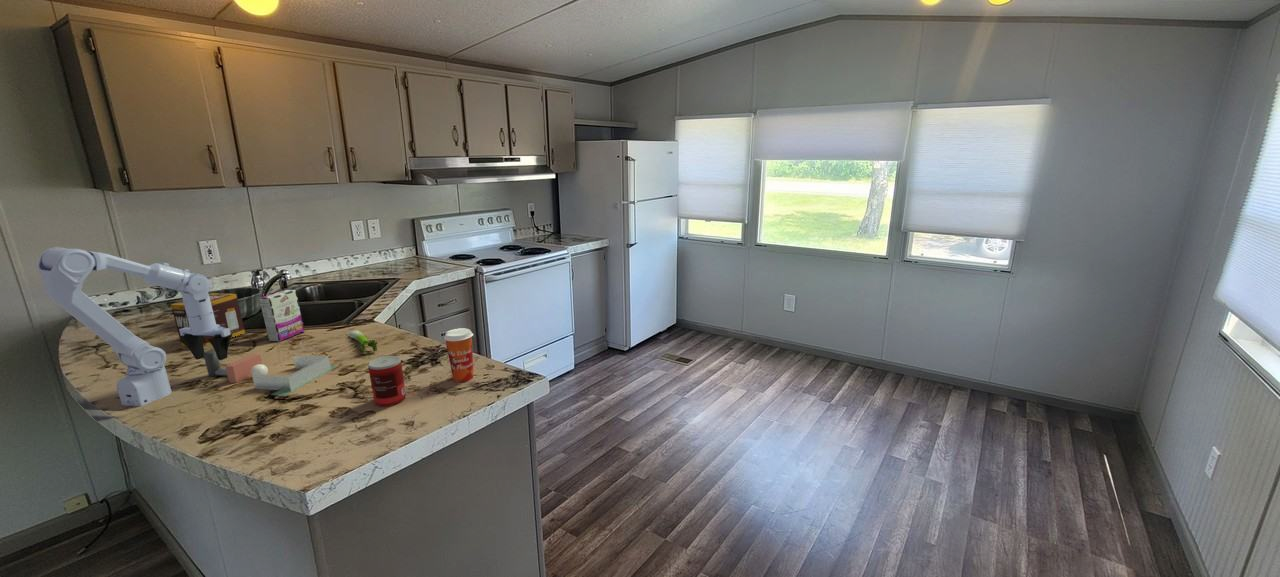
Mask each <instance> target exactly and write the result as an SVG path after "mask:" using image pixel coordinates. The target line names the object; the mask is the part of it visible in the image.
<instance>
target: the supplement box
mask: <svg viewBox="0 0 1280 577" xmlns="http://www.w3.org/2000/svg"><path fill="white" fill-rule="evenodd" d="M209 297H210V301H211V305H212V309H213V313H214V317H215V321H216V324H218V325H219V326H220V327H223V328H229V329H230V334H232V337H234V338H236V337H239V336H241V335H240V334H242V335H244V334H246V330H245V328H244V323H243V318H241V313H240V309H239V304H238V300H237V295H236V294H222V293H211V294H209ZM181 301H182V300H181ZM181 301H179V302H178V301H177V302H175V303H171V304H170V307H171V311H172V314H173V315H172V316H173V318H174V322H175V326H176V329H177V333H178V337H179V340H180V339H181V338H184V336H181V335H180V331H179V329H182V328H185V327H190V325H189V321H188V317H187V313H186V310H185V306H184V302H183V301H182V302H181ZM238 335H239V336H238ZM235 336H236V337H235ZM213 337H215V336H207V335H204V338H203V347H206V346H207V347H209V346H210V347H211V343H210V342H209V341H208V339H210V338H213ZM180 345H181V347H186V348H188V347H187V346H186V345H185V344H183V343H182V342H181V341H180Z"/></svg>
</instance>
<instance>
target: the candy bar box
mask: <svg viewBox="0 0 1280 577" xmlns="http://www.w3.org/2000/svg"><path fill="white" fill-rule="evenodd" d="M259 301H260V305H261V309H260V310H261V312H262V313H261V314H262V316H263V320H264V324H265V329H266V333H267V338H268V341H269V342H271V341H277V342H278V343H279V342H280V341H281V342H283V341H286V340H288V339H290V337H291V338H293V337H295V336H294V335H296V336H298V335H300V334H302V333H301V332H303V333H305V332H304V331H306V330H305V326H304V321H303V317H302V312H301V308H300V304H299V303H300V302H299V299H298V293H297V290H295V289H284V290H281V291H277V292H274V293H271V294H267V295H264V296H262V297H261V298H259ZM299 333H300V334H299ZM297 334H298V335H297ZM292 336H293V337H292ZM285 339H286V340H285ZM281 342H280V343H281Z"/></svg>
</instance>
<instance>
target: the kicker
mask: <svg viewBox="0 0 1280 577" xmlns="http://www.w3.org/2000/svg"><path fill="white" fill-rule="evenodd" d="M204 352H205V351H204ZM203 355H204V357H203V358H204V362H205V367H206V370H207V374H208V377H209V378H214V377H219V376H224V377H225V376H227V379H228V382H229V383H232V384H233V383H234V384H237V383H239V382H241V381H244V380H245V379H248V378H250V377H252V375H251V369H252V368H253V367H254V366H255V365H258V364H262V365H263V361H262V357H261V354H258V353H255V354H253V353H252V354H250V355H248V356H245V357H244V358H241V359H238V360H236V361H234V362H232V363H229V364H227V365H225V368H221V364H220V360H219V359H218V358H217V355H216V352H215V350H208V351H206V352H205V353H204V354H203Z"/></svg>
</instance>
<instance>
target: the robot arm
mask: <svg viewBox="0 0 1280 577" xmlns="http://www.w3.org/2000/svg"><path fill="white" fill-rule="evenodd" d="M36 268H37V270H38V271H39V273H40V275H41V281H42V284H43V288H44V293H45V296H46V297H48V298H49V299H50V300H52V301H53V302H54V303H55V304H57V305H58V306H59V307H60V308H61V309H62V310H64V311H65V312H67V313H68V314H69V315H71V316H72V317H73V318H75V319H76V320H77V321H78V322H80V323H81V324H82V325H83V326H85V327H86V328H87V329H89V330H90V331H91V332H93V333H94V334H95V336H98V337H99V338H100V339H101V340H102V341H103V342H105V343H106V344H108V345H109V346H110V347H111V351H112V352H114V353H115V354H116V355H117V357H118V360H119V362H120V363H121V364H122V365H123V366H125V367H127V368H126V373H127V374H126V375H125V376H124V377H123V378H120V379H119V380H117V382H116V390H117V393H118V396H119V399H120V402H121V403H120V404H121V406H133V407H137V406H138V407H143V406H144V405H147V404H149V403H152V402H154V401H157V400H160V399H162V398H165V397H168V396H169V395H170V394H172V393H173V392H172V389H171V385H170V381H169V377H168V374H167V370H166V367H165V364H166V361H167V354H166V352H165V350H163V348H161V347H158V346H153V345H151V344H150V343H149V342H147V341H146V340H144V339H142V338H140V337H138V336H136V335H135V334H134V333H133V332H131V331H130V330H129V329H128V328H126V326H124V325H123V324H122V322H119V321H118V320H117V319H116V318H115V317H113V316H112V315H111V314H109V312H107V311H106V310H105V309H104V308H102V306H100V305H99V304H98V303H97V302H95V301H94V300H93V299H92V298H90V297H89V296H88V295H87V294H86V293H84V292H83V290H82V288H83V285H84V281H85V279H86V278H87V277H88V276H89V274H91V272H92V271H95V272H97V271H98V272H99V271H103V270H110V271H115V272H119V273H124V274H128V275H133V276H136V277H137V276H138V277H142V279H143V280H144V282H145V283H146V284H148V285H153V286H157V287H161V288H165V289H168V290H170V289H171V290H173V291H177V292H179V293H181V294H180V295H181V298H182V300H183V302H184V306H185V310H186V313H187V317H188V321H189V325H190V327H185V328H182V329H179V331H180V335H181V336H184V338H181V339H180V338H179V341H180V343H181V342H182V343H183V344H185V345H186V346H187V347H186V348H187V349H188V350H189V351H190V352H191V354H192V355H193V358H195V360H197V361H198V360H201V359H203V358H204V355H203V354H204V353H205V348H204V347H205V346H204V347H203V338H204V335H207V336H215V337H213V338H210V339H208V341H209V342H210V343H211V345H212V347H213V351H215V352H216V355H217V358H218V359H219V361H223V360H225V359H228V355H229V352H228V351H229V345H230V342H231V339H233V338H232V334H230V329H229V328H223V327H220V326H219V325H218V324H216V321H215V317H214V313H213V309H212V305H211V301H210V297H209V294H208V291H210V289H211V286H212V281H211V280H209V279H208V277H206V275H204V274H201V273H195V272H194V273H192V272H190V269H186V268H183V269H180V268H176V267H174V266H170V263H167V262H160V263H157V262H154V263H152V264H149V265H146V264H143V263H139V262H136V261H133V260H129V259H125V258H122V257H119V256H115V255H112V254H109V253H106V252H105V253H104V252H98V251H97V252H96V251H89V250H84V249H81V248H68V247H67V248H66V247H61V246H56V247H50V248H48V249H46V250H44V251H43V252H42V253H41V255H40V256H39V260H38V263H37V265H36Z"/></svg>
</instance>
